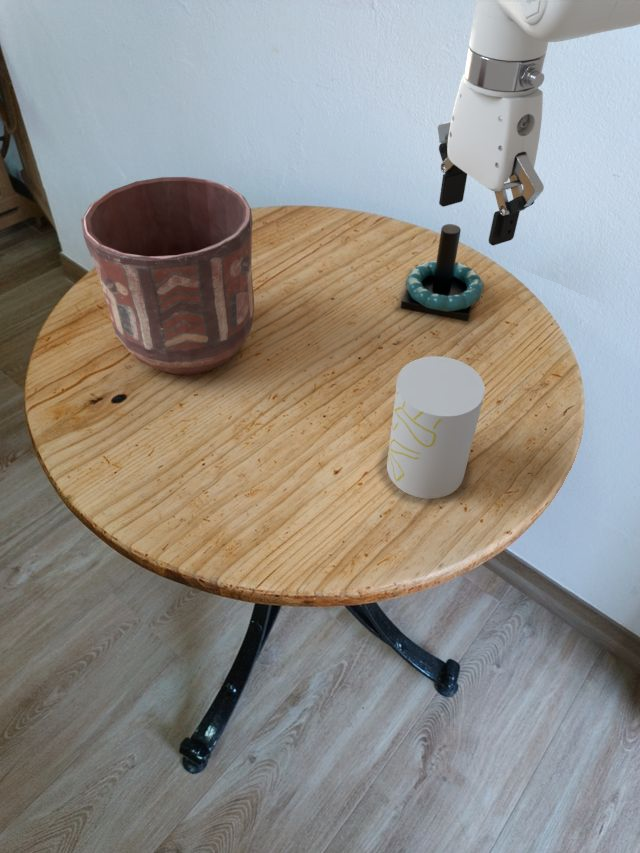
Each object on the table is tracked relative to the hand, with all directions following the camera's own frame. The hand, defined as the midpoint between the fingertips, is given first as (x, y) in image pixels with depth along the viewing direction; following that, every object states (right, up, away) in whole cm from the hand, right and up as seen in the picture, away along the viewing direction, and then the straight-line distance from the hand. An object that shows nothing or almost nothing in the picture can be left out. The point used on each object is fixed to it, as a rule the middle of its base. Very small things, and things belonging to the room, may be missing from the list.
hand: (474, 221), depth 82 cm
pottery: (-35, -14, +5) cm, 38 cm away
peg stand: (-2, -7, +12) cm, 14 cm away
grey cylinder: (-7, -29, -9) cm, 31 cm away
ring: (-2, -5, +10) cm, 12 cm away
